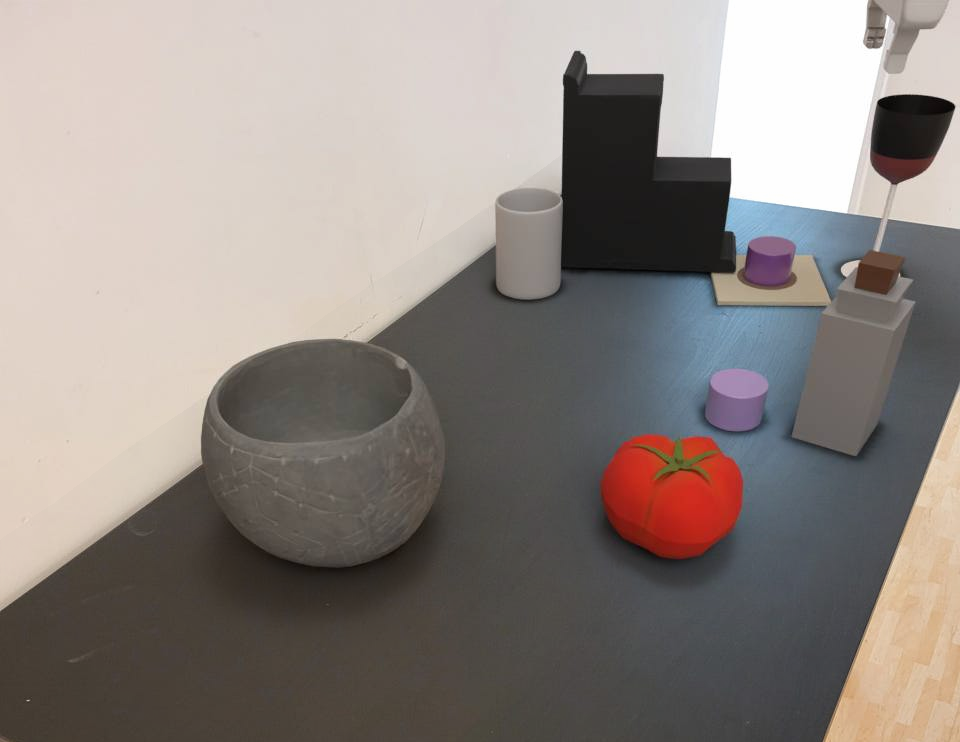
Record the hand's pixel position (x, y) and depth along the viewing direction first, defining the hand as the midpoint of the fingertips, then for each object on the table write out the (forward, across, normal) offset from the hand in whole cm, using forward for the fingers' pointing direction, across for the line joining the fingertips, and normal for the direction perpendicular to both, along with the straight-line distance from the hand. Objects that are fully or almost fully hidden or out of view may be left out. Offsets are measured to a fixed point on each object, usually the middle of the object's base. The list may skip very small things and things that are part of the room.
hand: (881, 59), depth 98 cm
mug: (+27, -7, -37) cm, 46 cm away
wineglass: (+27, -10, +8) cm, 30 cm away
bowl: (+27, +47, -53) cm, 76 cm away
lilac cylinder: (+27, +26, -14) cm, 40 cm away
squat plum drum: (+26, -7, -6) cm, 28 cm away
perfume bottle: (+27, +29, -4) cm, 40 cm away
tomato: (+27, +46, -22) cm, 58 cm away
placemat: (+27, -7, -6) cm, 29 cm away
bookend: (+27, -14, -21) cm, 37 cm away
